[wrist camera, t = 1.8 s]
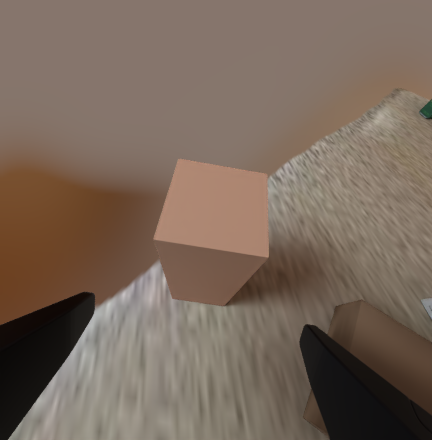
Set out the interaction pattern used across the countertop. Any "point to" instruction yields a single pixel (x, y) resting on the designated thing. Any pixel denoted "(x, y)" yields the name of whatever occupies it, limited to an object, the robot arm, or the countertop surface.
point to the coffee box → (427, 110)
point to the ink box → (428, 305)
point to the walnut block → (381, 353)
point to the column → (212, 231)
